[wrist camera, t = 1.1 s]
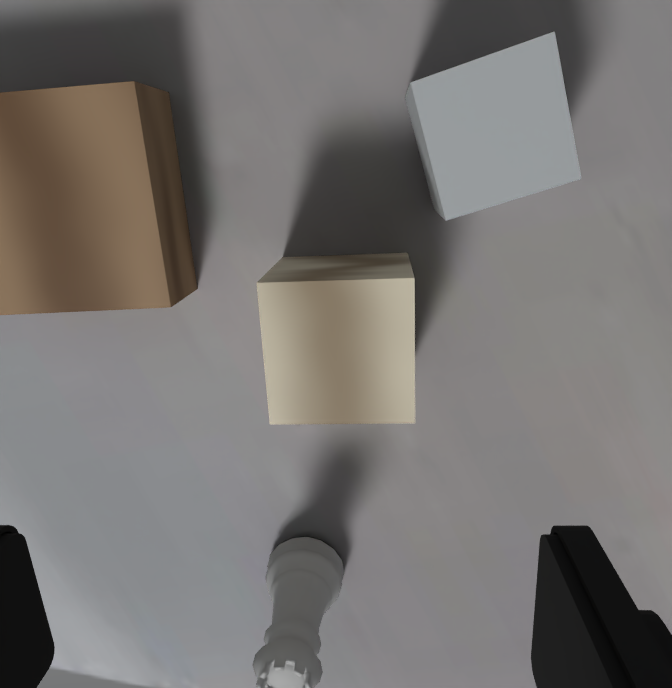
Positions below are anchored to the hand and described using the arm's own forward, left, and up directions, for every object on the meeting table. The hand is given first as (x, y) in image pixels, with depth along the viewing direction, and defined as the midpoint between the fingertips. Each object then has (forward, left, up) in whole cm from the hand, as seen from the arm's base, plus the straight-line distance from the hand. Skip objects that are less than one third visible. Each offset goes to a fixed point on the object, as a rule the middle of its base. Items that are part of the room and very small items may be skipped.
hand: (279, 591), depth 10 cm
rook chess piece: (+3, +15, -19) cm, 24 cm away
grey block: (-6, -8, -19) cm, 21 cm away
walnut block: (+12, -6, -19) cm, 23 cm away
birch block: (0, 0, -19) cm, 19 cm away
